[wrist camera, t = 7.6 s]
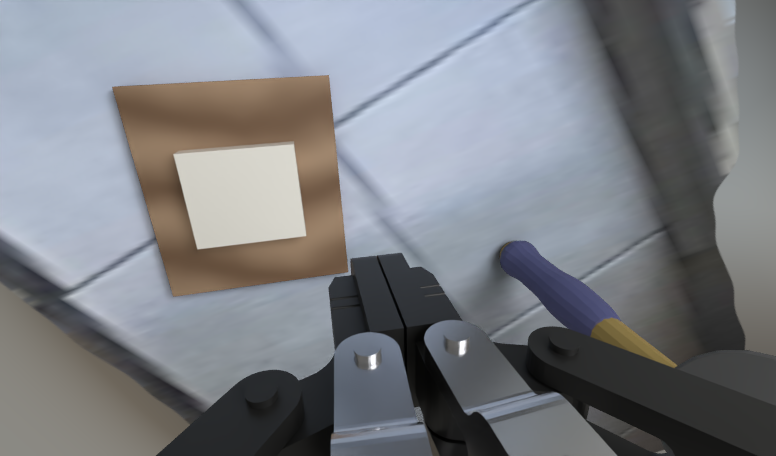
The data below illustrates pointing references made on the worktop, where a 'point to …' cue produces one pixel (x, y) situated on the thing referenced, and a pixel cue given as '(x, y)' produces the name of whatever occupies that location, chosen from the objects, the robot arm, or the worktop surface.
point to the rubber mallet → (598, 320)
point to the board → (236, 128)
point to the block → (242, 193)
